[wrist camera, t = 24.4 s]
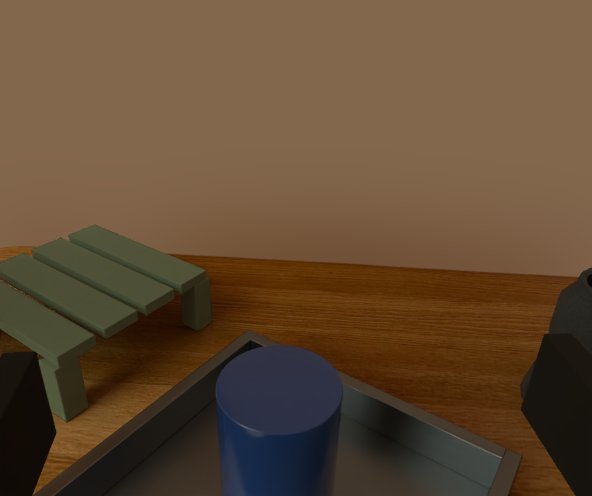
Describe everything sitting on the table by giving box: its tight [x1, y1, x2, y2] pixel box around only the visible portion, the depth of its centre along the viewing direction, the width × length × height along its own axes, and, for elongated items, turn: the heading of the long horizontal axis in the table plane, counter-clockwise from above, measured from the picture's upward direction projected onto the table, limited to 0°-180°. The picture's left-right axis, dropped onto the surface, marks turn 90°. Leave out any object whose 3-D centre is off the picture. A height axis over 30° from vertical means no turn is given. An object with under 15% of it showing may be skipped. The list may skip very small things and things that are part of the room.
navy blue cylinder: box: [215, 345, 343, 496], centre depth 29 cm, size 6×6×11 cm
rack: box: [0, 225, 212, 422], centre depth 48 cm, size 16×16×6 cm
